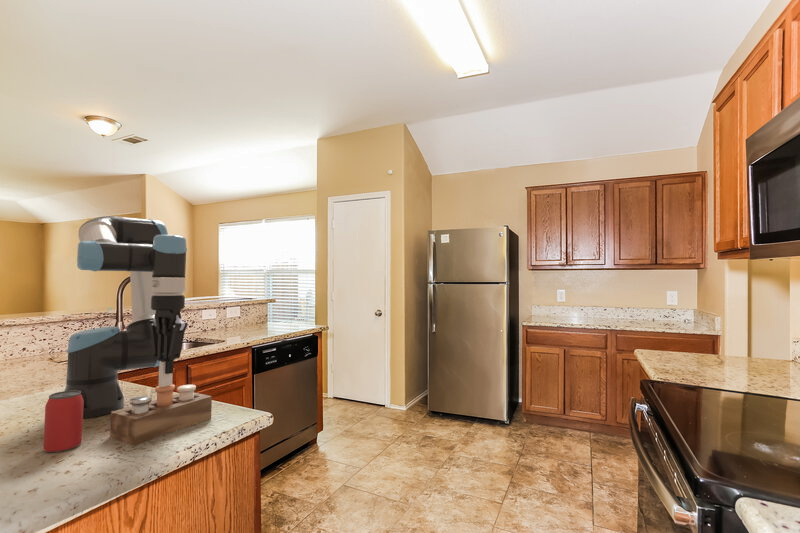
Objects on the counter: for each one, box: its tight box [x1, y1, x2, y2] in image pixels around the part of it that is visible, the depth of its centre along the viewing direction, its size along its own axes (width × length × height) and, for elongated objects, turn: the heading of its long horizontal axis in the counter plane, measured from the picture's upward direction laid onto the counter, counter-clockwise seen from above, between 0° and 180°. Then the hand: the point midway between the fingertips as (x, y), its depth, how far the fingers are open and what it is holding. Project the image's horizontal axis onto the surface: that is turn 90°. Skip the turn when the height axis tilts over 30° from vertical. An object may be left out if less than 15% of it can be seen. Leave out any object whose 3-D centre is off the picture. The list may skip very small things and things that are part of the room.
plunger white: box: [177, 384, 197, 401], centre depth 106 cm, size 4×4×7 cm
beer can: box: [42, 390, 84, 453], centre depth 88 cm, size 7×7×12 cm
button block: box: [109, 392, 213, 446], centre depth 101 cm, size 10×20×6 cm, turn 154°
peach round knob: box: [154, 383, 176, 408], centre depth 101 cm, size 4×4×7 cm
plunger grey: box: [129, 395, 153, 415], centre depth 95 cm, size 4×4×7 cm
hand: (165, 385), depth 101 cm, fingers closed
